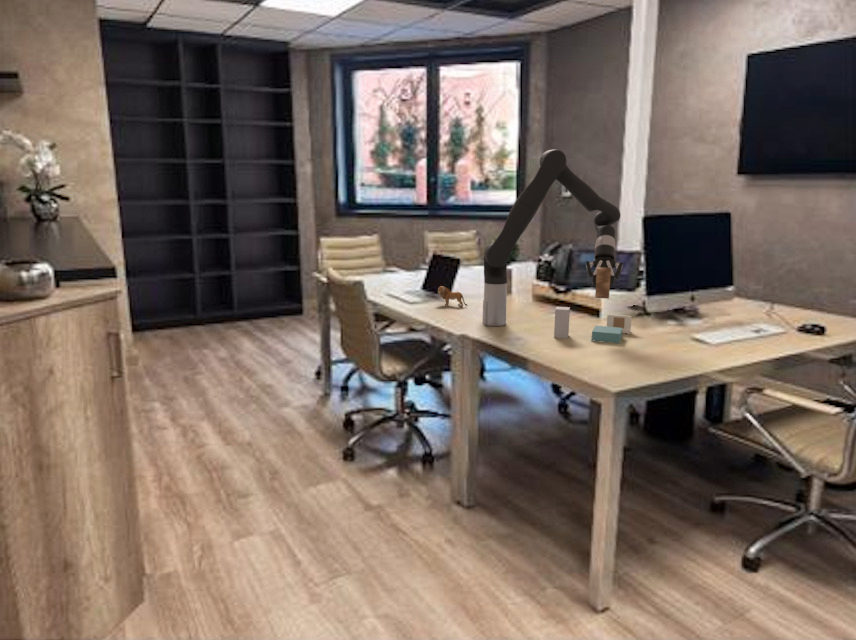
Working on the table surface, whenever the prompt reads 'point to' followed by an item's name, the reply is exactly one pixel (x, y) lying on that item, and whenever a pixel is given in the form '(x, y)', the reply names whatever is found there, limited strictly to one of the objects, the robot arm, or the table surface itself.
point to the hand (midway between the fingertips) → (603, 285)
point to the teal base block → (607, 334)
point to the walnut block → (603, 282)
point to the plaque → (620, 322)
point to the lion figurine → (450, 295)
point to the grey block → (561, 322)
